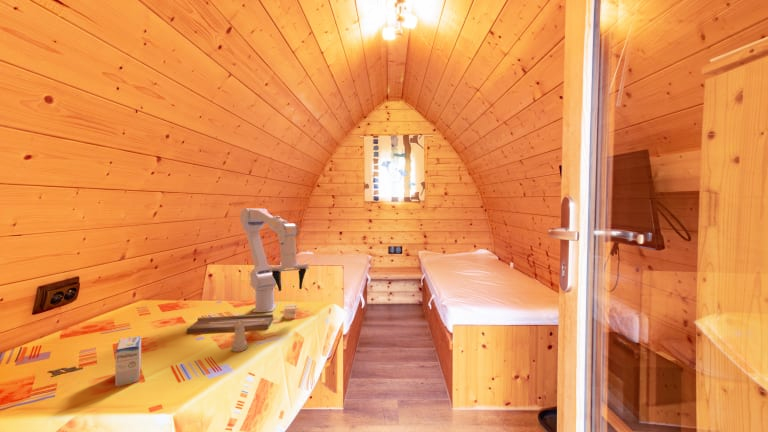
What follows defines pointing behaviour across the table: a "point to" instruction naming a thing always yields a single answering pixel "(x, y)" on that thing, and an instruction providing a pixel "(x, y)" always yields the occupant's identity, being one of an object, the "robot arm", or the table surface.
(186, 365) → the table surface
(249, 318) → the walnut board
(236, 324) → the rook chess piece
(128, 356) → the medicine box
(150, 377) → the table surface
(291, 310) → the block
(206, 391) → the table surface
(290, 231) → the robot arm
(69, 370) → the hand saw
